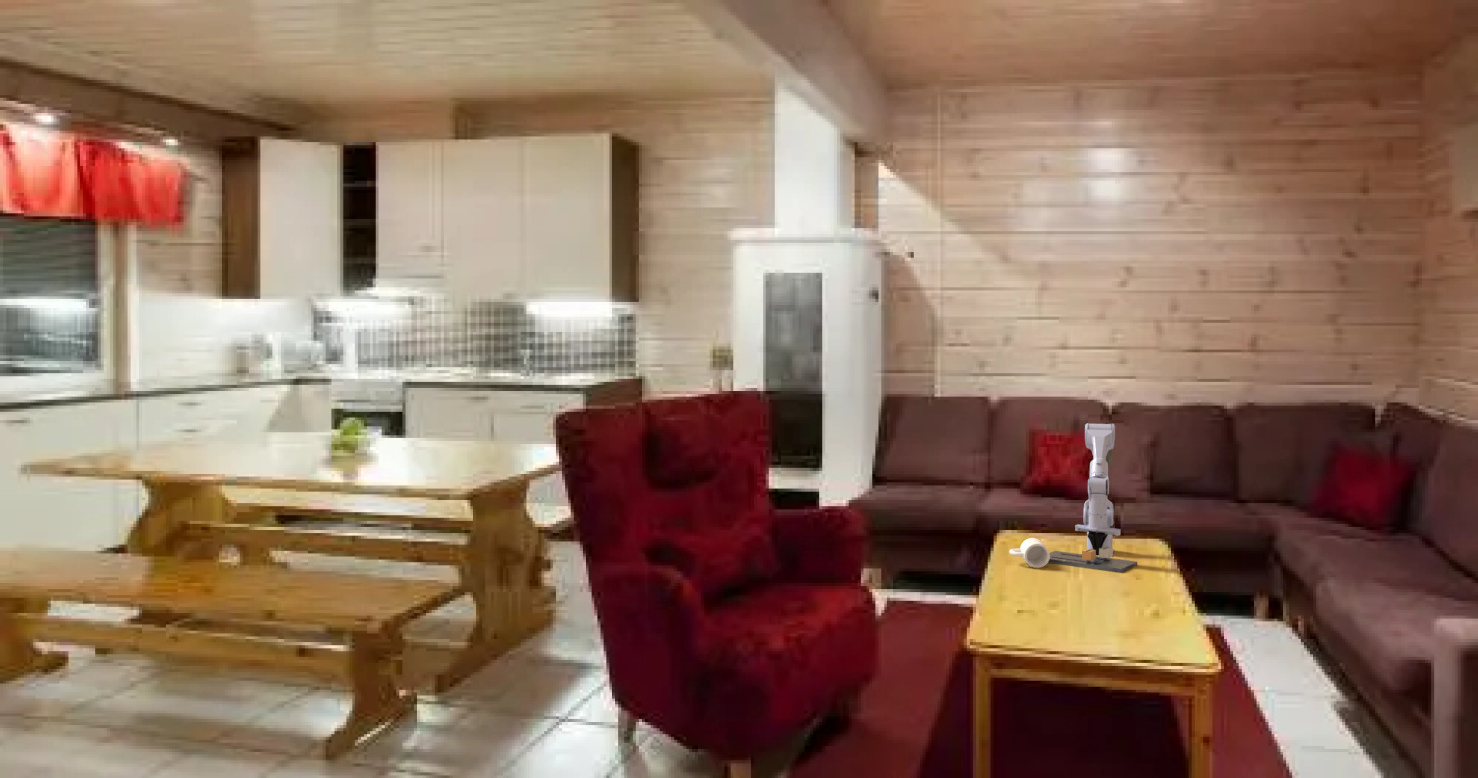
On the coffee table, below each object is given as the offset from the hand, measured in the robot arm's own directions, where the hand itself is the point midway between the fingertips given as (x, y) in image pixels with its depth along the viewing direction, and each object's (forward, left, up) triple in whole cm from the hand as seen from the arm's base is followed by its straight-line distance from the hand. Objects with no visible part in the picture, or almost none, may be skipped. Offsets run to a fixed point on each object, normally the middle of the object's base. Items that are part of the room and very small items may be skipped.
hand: (1097, 555), depth 373 cm
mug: (+17, -16, -3) cm, 24 cm away
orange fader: (+7, 0, -1) cm, 7 cm away
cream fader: (0, +3, -1) cm, 3 cm away
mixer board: (+3, -2, -2) cm, 5 cm away
